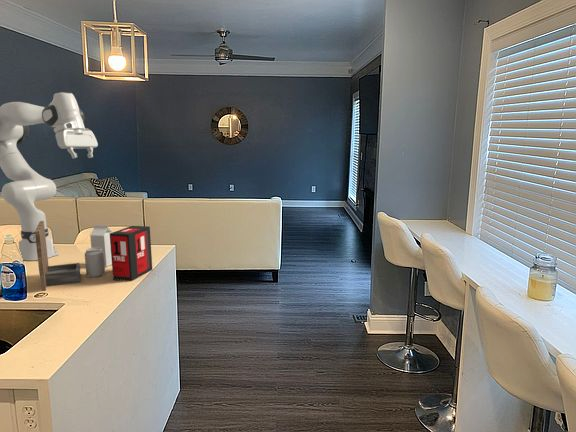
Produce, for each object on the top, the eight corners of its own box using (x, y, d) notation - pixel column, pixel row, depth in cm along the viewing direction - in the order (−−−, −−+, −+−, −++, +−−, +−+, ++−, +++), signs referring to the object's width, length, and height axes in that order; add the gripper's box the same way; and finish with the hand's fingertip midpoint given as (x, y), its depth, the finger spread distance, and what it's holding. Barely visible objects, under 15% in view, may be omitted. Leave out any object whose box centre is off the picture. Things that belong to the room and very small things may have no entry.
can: (98, 278, 196) (96, 251, 194) (82, 277, 197) (80, 250, 195) (108, 273, 203) (106, 246, 201) (93, 272, 205) (91, 246, 202)
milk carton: (106, 267, 212) (103, 227, 209) (92, 266, 214) (89, 226, 210) (115, 263, 219) (112, 224, 216) (101, 262, 220) (98, 223, 217)
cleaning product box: (134, 268, 210) (131, 225, 206) (152, 269, 208) (149, 226, 204) (113, 279, 194) (109, 233, 191) (131, 281, 192) (128, 234, 189)
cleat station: (45, 274, 202) (39, 220, 198) (80, 270, 208) (75, 218, 203) (41, 291, 181) (34, 231, 176) (80, 286, 186) (74, 228, 182)
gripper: (85, 130, 214) (94, 159, 214) (50, 128, 194) (60, 160, 195) (95, 126, 211) (104, 155, 212) (61, 124, 192) (71, 156, 193)
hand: (83, 157), depth 203 cm, fingers open, 8 cm apart
